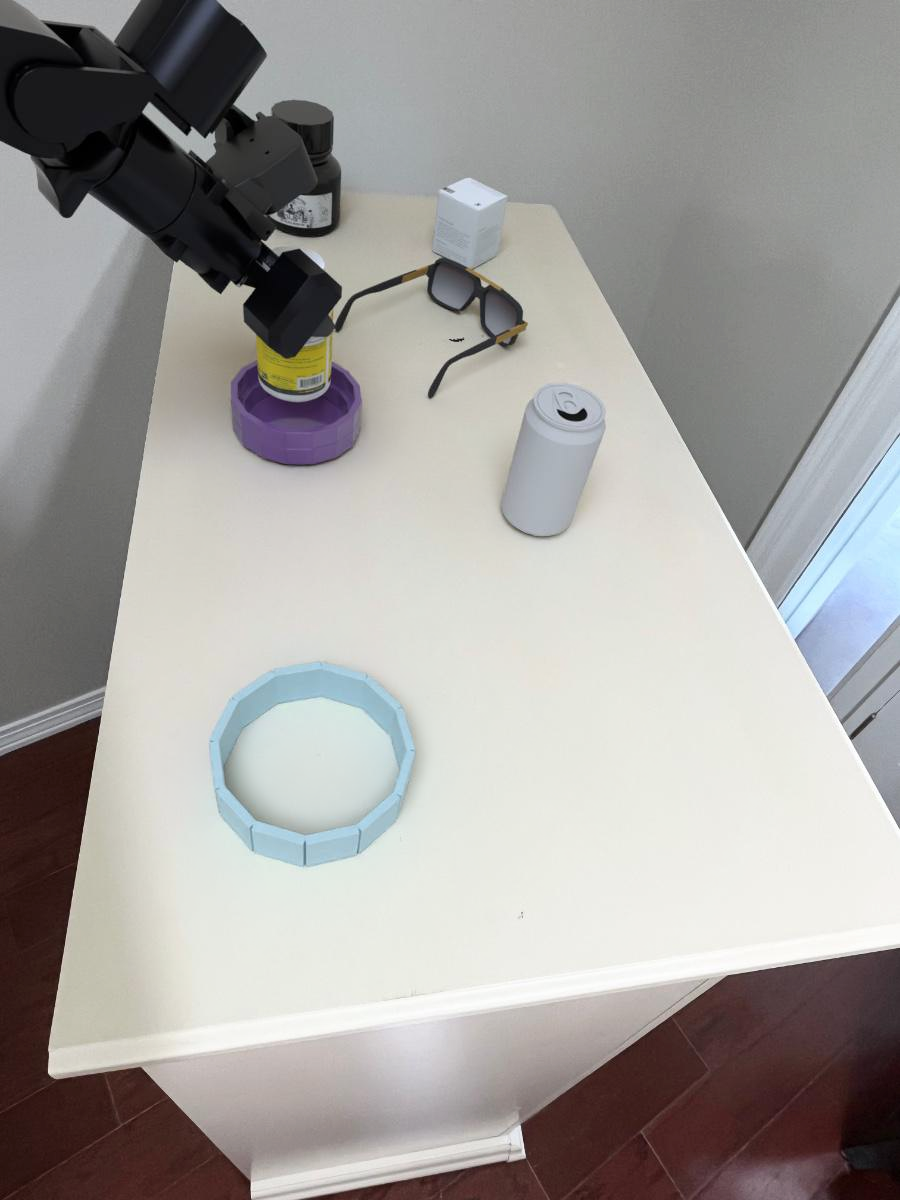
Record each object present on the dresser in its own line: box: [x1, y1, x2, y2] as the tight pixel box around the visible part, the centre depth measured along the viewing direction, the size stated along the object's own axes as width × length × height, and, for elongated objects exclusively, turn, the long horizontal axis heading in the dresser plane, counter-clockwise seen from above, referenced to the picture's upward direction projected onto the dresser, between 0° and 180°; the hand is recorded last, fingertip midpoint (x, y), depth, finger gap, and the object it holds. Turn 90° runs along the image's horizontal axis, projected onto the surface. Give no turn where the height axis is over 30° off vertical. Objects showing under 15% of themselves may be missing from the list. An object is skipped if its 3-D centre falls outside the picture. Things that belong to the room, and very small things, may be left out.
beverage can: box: [500, 382, 607, 537], centre depth 65 cm, size 6×6×12 cm
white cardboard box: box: [431, 177, 509, 270], centre depth 94 cm, size 6×6×7 cm
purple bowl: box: [230, 359, 363, 466], centre depth 71 cm, size 11×11×4 cm
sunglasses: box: [334, 257, 529, 399], centre depth 82 cm, size 14×15×5 cm
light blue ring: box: [208, 661, 416, 868], centre depth 50 cm, size 12×12×4 cm
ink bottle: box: [265, 99, 342, 237], centre depth 92 cm, size 10×9×12 cm
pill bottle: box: [255, 245, 334, 402], centre depth 64 cm, size 6×6×11 cm
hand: (309, 310), depth 64 cm, fingers closed on pill bottle, 6 cm apart
